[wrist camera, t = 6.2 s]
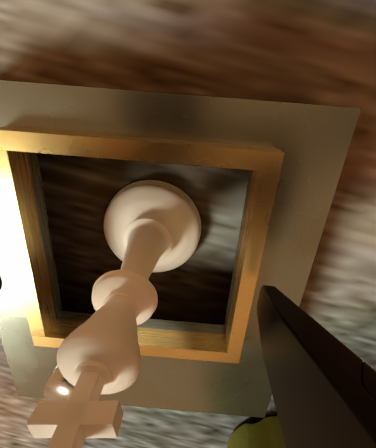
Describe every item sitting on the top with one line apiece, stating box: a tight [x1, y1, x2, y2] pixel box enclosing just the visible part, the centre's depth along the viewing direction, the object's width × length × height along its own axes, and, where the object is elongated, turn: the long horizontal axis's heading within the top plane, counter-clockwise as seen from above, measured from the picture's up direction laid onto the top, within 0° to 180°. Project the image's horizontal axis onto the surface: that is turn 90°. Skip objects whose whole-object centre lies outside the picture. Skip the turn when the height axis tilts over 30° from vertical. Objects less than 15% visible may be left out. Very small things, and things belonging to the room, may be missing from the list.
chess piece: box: [26, 180, 201, 448], centre depth 9 cm, size 5×5×10 cm
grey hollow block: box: [0, 80, 361, 418], centre depth 12 cm, size 14×16×5 cm
